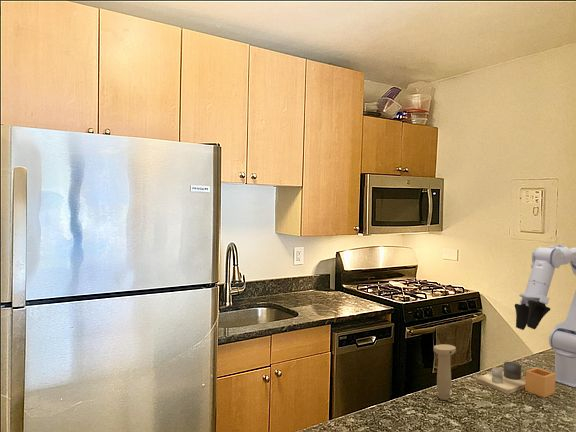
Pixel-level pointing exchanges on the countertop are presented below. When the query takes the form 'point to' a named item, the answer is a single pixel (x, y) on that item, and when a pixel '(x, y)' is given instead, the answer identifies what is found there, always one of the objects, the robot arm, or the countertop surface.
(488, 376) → the fitting board
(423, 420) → the countertop surface
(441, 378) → the handle
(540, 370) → the sleeve
